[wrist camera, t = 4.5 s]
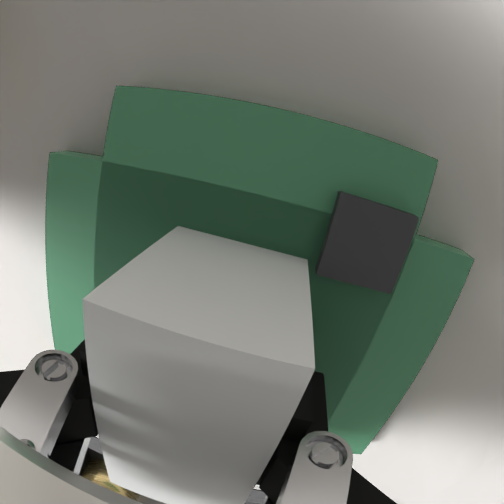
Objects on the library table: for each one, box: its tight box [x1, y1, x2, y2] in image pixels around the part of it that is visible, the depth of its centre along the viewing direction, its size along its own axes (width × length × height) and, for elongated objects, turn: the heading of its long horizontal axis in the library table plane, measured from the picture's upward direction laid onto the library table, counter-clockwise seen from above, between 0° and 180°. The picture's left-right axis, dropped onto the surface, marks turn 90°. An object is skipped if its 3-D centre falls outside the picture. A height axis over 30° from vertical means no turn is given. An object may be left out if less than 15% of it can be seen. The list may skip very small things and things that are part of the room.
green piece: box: [45, 86, 474, 504], centre depth 9 cm, size 15×15×6 cm
